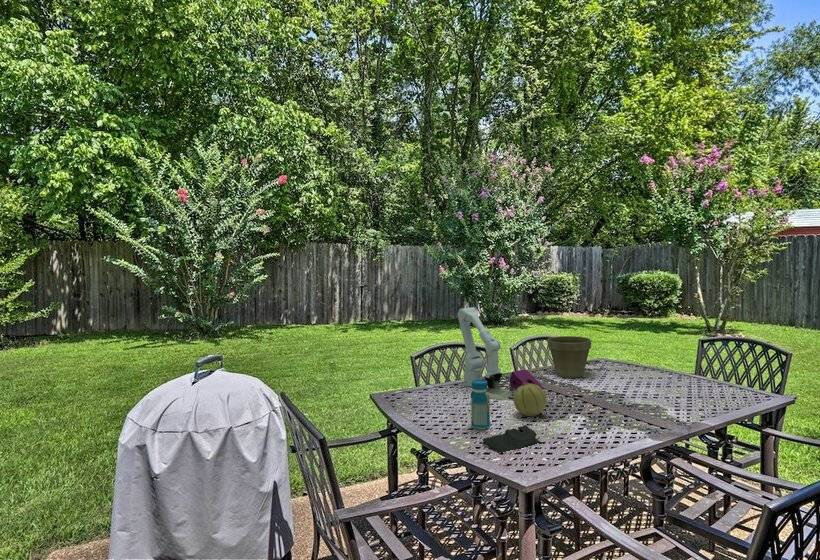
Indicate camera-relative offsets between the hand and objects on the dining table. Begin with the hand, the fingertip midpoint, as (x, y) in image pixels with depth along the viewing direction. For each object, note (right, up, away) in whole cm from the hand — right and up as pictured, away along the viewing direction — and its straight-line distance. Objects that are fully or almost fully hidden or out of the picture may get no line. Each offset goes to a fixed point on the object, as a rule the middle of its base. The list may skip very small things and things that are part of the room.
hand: (493, 388), depth 265 cm
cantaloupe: (+10, -4, -39) cm, 41 cm away
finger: (0, -2, 0) cm, 2 cm away
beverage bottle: (-14, -6, -51) cm, 54 cm away
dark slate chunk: (-5, -7, -70) cm, 70 cm away
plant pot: (+50, +1, +28) cm, 57 cm away
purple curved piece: (+18, -2, 0) cm, 18 cm away
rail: (-3, -2, -7) cm, 8 cm away
